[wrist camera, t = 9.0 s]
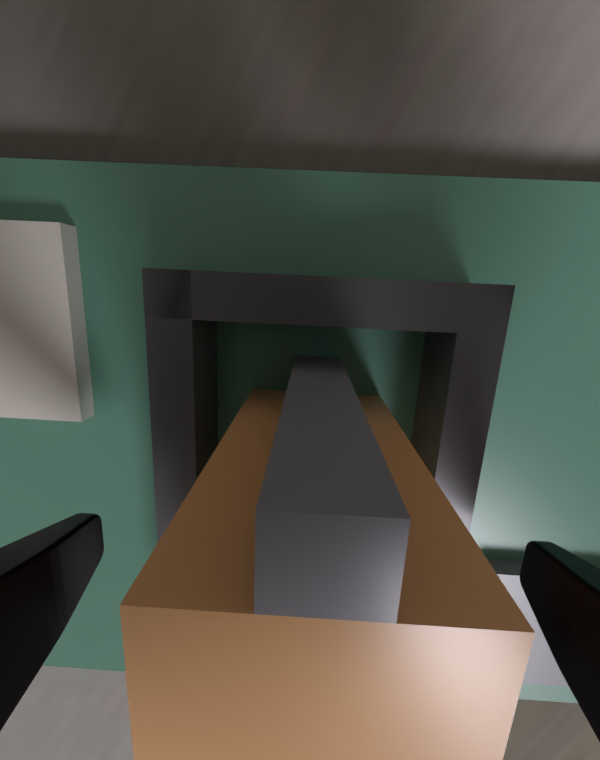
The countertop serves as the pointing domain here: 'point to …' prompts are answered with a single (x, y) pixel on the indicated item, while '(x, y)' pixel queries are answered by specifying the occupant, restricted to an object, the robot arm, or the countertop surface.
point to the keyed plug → (320, 598)
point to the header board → (294, 348)
